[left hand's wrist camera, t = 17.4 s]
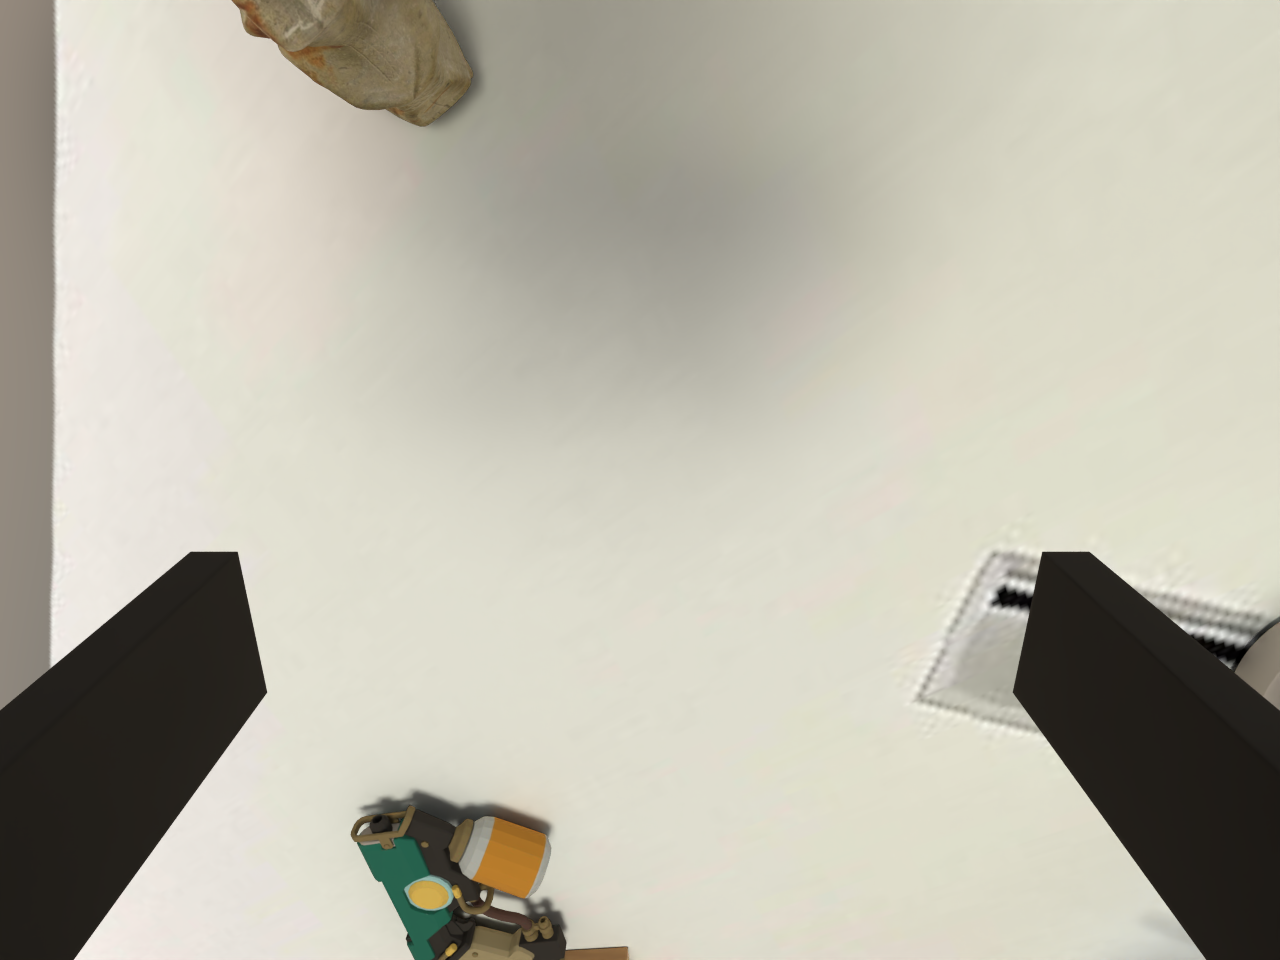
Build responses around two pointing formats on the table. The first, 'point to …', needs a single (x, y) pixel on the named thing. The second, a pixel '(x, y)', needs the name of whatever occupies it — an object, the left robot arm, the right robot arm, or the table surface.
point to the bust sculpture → (1263, 666)
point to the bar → (598, 954)
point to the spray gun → (460, 883)
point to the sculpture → (369, 51)
